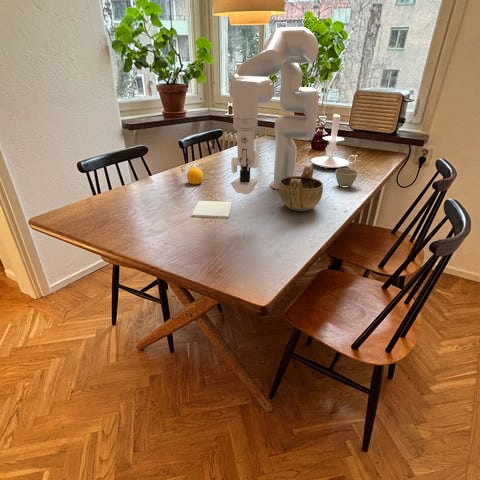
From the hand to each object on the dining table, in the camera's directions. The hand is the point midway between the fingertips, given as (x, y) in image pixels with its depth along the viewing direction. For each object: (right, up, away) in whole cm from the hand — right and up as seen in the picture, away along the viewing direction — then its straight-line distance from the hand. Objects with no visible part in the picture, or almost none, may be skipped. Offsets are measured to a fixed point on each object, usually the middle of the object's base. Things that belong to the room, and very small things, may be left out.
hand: (245, 179), depth 110 cm
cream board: (-12, -8, +19) cm, 24 cm away
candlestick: (+50, +20, +72) cm, 90 cm away
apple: (-23, +7, +47) cm, 53 cm away
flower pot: (+48, +5, +45) cm, 66 cm away
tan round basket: (+22, -8, +21) cm, 31 cm away
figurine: (0, -4, +2) cm, 4 cm away
